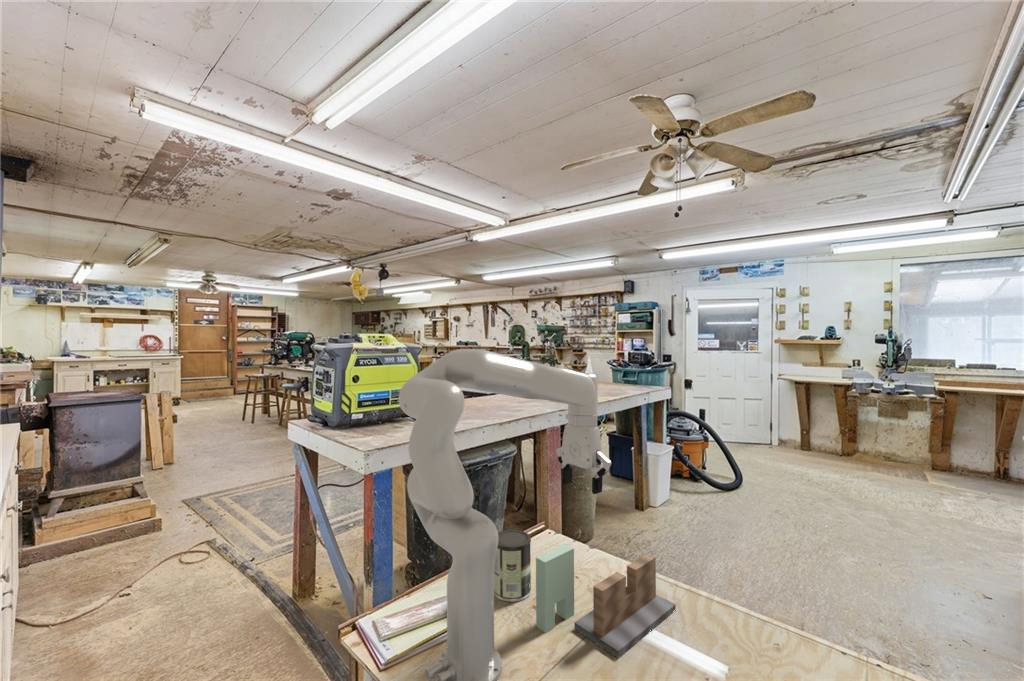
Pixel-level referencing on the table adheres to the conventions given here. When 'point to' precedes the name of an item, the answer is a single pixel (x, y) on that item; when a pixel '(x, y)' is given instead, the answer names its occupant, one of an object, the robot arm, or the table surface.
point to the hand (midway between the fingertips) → (581, 487)
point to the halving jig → (625, 608)
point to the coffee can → (512, 566)
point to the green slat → (554, 586)
